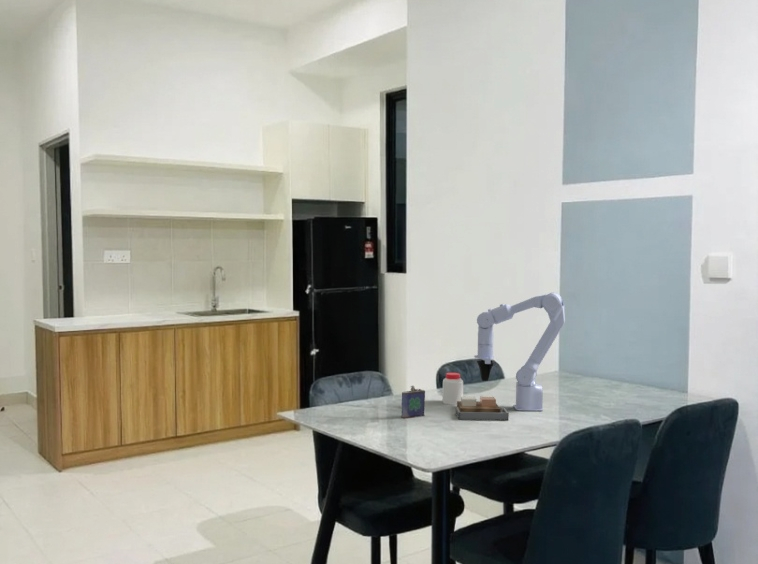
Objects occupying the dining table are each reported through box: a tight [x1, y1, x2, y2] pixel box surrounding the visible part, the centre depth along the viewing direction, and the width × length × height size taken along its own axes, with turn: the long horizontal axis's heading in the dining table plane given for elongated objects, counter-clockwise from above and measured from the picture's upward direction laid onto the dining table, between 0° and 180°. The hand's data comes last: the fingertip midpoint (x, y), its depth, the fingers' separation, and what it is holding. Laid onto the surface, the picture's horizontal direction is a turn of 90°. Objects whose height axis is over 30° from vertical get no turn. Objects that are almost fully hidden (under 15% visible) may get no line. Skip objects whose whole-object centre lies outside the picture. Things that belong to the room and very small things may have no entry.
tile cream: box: [461, 395, 477, 406], centre depth 261 cm, size 5×5×2 cm
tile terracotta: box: [479, 396, 497, 407], centre depth 261 cm, size 5×5×2 cm
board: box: [456, 400, 501, 413], centre depth 262 cm, size 14×12×2 cm
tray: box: [455, 406, 510, 421], centre depth 251 cm, size 17×9×2 cm, turn 89°
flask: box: [401, 385, 426, 419], centre depth 251 cm, size 9×3×11 cm, turn 121°
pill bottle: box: [442, 372, 464, 406], centre depth 274 cm, size 8×8×11 cm
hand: (484, 380), depth 270 cm, fingers closed
